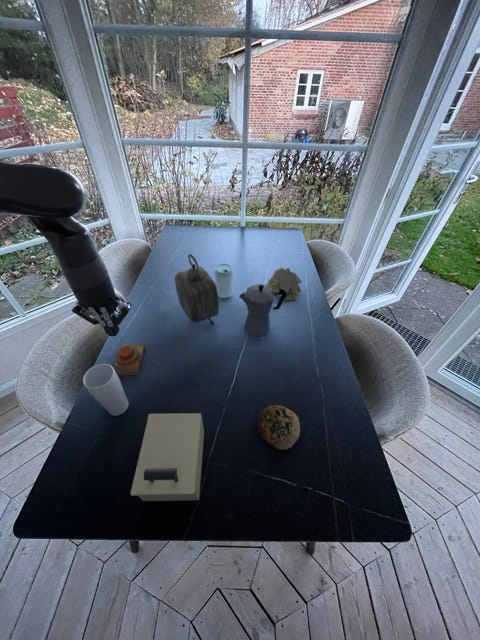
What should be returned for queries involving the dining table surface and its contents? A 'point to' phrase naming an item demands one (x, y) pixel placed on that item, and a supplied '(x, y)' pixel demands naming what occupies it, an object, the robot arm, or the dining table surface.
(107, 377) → the drinking glass
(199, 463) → the beige open box
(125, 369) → the block
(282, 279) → the ceramic model
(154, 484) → the lid
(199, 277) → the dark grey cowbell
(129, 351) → the button
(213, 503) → the dining table surface
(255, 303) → the coffeepot
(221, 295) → the can
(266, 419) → the bread roll
